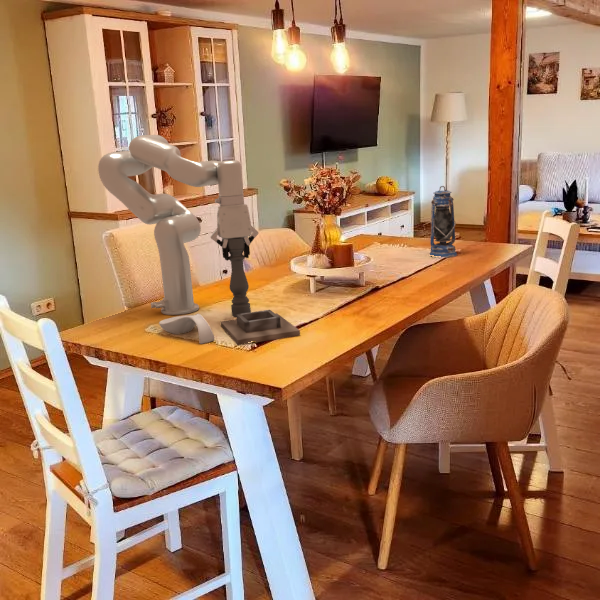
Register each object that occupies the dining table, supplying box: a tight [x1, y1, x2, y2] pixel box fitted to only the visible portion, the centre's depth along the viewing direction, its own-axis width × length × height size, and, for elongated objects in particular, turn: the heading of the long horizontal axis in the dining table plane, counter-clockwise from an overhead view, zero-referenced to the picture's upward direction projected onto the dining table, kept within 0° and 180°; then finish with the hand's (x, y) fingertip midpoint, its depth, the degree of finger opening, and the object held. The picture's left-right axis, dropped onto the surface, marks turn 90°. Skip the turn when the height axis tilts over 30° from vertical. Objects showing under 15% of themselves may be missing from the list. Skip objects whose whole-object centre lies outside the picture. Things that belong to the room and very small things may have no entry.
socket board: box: [220, 309, 301, 346], centre depth 202 cm, size 18×22×4 cm
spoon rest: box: [158, 313, 215, 345], centre depth 202 cm, size 24×12×7 cm, turn 37°
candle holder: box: [227, 237, 252, 318], centre depth 219 cm, size 6×6×25 cm
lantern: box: [429, 185, 458, 259], centre depth 298 cm, size 15×12×30 cm
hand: (236, 258), depth 218 cm, fingers closed on candle holder, 5 cm apart
